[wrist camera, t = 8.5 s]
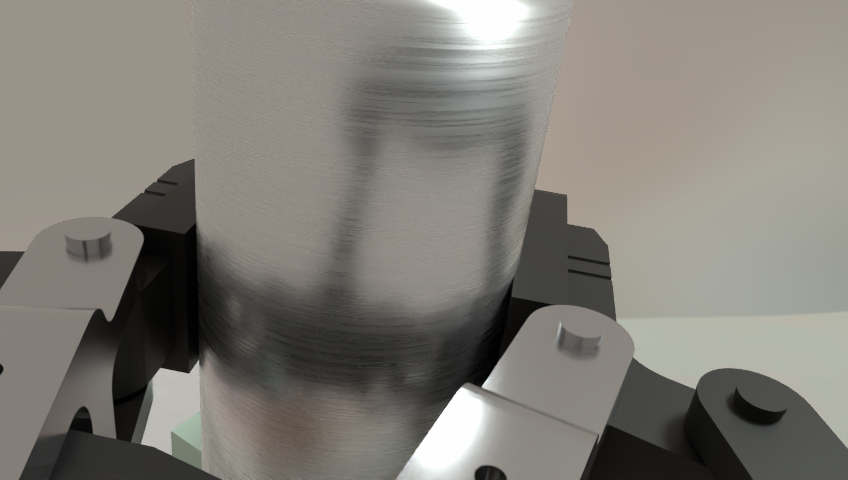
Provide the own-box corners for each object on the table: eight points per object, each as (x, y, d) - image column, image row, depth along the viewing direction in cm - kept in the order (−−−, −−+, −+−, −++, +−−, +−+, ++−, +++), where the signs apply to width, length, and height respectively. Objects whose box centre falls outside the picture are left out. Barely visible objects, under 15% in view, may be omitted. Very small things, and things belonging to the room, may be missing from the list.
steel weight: (494, 553, 14) (631, -13, 9) (347, 745, 11) (440, 33, 6) (318, 442, 16) (357, -74, 11) (149, 579, 13) (101, -64, 8)
